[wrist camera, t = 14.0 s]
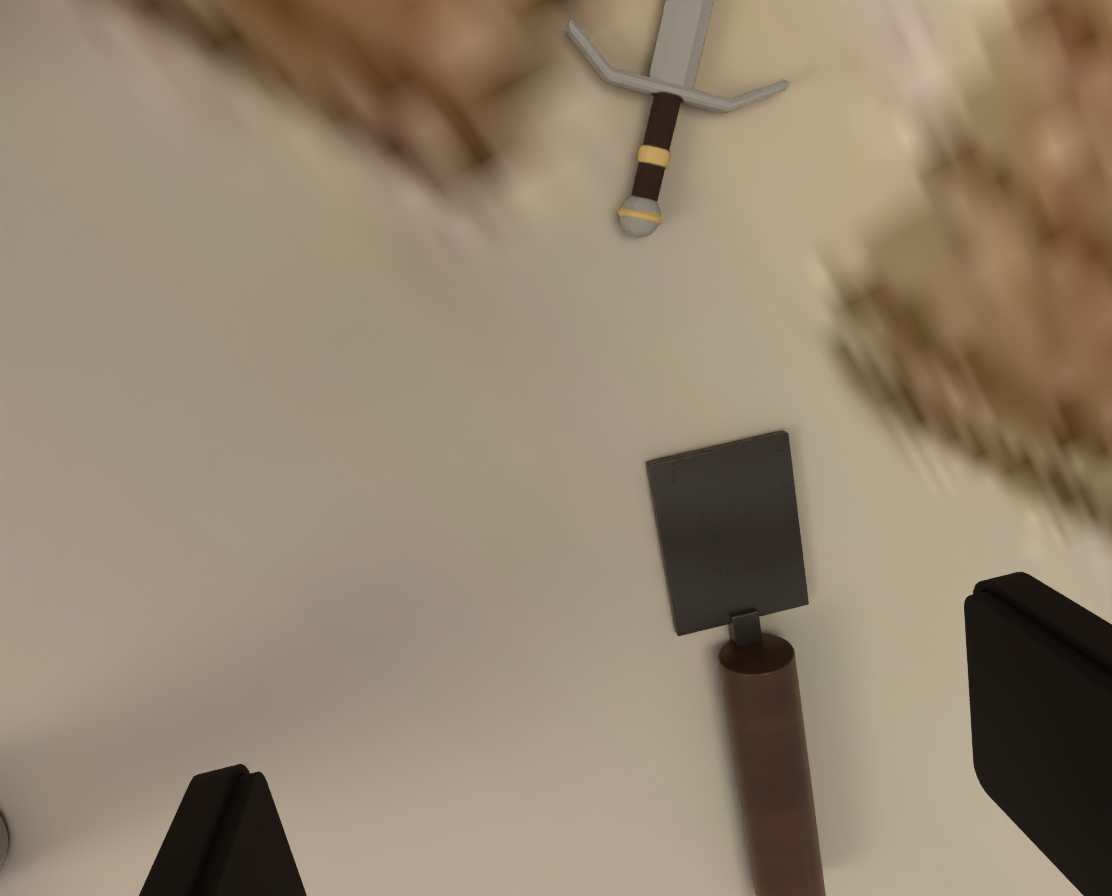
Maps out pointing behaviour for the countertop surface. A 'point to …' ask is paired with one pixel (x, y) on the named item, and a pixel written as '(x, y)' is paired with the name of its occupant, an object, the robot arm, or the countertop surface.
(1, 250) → the countertop surface
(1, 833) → the lotion bottle
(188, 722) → the countertop surface
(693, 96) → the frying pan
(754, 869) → the spatula
